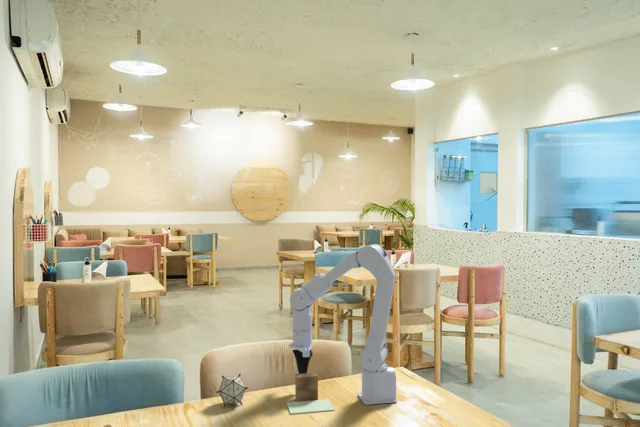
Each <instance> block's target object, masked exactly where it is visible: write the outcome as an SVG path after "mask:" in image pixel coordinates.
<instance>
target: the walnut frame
mask: <svg viewBox="0 0 640 427" xmlns="http://www.w3.org/2000/svg"><path fill="white" fill-rule="evenodd" d="M294 376H295V384H294V385H295V386H294V387H295V390H294V391H295V402H301V401H313V400H319V378H318V377H319V376H318V374H317V373H316V372H309V373H308V372H307V373H306V374H299V373H295V374H294Z"/></svg>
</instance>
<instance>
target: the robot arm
mask: <svg viewBox="0 0 640 427" xmlns="http://www.w3.org/2000/svg"><path fill="white" fill-rule="evenodd" d="M359 268H364V269H365V270H366V271H368V272H370V274H371V275H372V276H373V277H374V279H375V280H376V288H375V293H374V299H373V300H374V301H373V305H372V311H371V317H370V318H371V319H370V324H369V331H368V336H367V338H366V341H365V346H364V349H363V350H362V352H361V353H360V356H359V361H360V364H361V392H358V393H357V397H358V398H359V399H360V400H361V401H362V403H363V404H364V405H365V406H366V405H367V406H370V405H380V404H390V403H397V402H398V400H397V377H396V376H397V375H396V371H395V368H393V366H388V364H386V361H385V360H386V359H387V357H388V355H389V350H388V346H387V340H388V338H387V332H388V326H389V319H390V314H391V307H392V301H393V294H394V287H395V283H396V272H395V270H394V267H393V265H392V262H391V260H390V257H389V253H388V252H387V251H386V249H385V248H383V246H382V245H379V244H378V243H372V244H369V245H365V246H363V247H361V248H360V249H358V250H356V251H354V252H352V253H351V254H349V255H348V256H346V257H345V258H344V259H342V260H341V261H340V262H339V263H338V264H336V265H335V266H334V267H332V268H331V269H330V270H329V271H328V272H326V273H323V272H321V273H318V274H317V273H315V274H314V275H312V276H311V277H312V279H310V280H309V281H308V282H306V283H303V284H301V285H300V289H296V290H293V292H292V293H291V295H290V296H289V304H290V306H291V307H292V343H288V348H293V349H292V353H293V356H294V358H295V363H296V368H297V371H298V373H297V374H306V373H308V369H309V365H310V362H311V361H310V360H311V358H312V357H313V354H314V352H313V351H312V348H313V334H312V333H313V330H312V329H313V328H312V327H313V326H312V325H313V323H312V322H313V320H312V317H313V316H312V305H313V304H314V302H316V301H317V300H319V299H321V297H323V296H324V295H325V294H327V293H329V291H330V290H332V288H333V283H334V282H336V281H337V280H339V278H342V277H343V275H345V274H347V273H348V272H349V271H351V270H352V269H359Z"/></svg>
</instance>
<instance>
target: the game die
mask: <svg viewBox="0 0 640 427" xmlns="http://www.w3.org/2000/svg"><path fill="white" fill-rule="evenodd" d="M241 375H242V374H241V373H239V374H238V375H236V376H235V375H234V376H228V377H227V376H224V375H221V378H222V379H221V384H220V386H219V389H218V390H216V391H215V393H216V394H218V395H219V396H220V398H221V400H222V402H223V403H224V404H223V408H224V407H226V405H232V404H238V403H239V404H240V405H243V402H242V400H243V397H244V395H245V393H246V390H248V389H249V387H248V386H245V384H244V382H243V380H242V379H241Z"/></svg>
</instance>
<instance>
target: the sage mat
mask: <svg viewBox="0 0 640 427" xmlns="http://www.w3.org/2000/svg"><path fill="white" fill-rule="evenodd" d="M286 405H287V408H288V411H289V413H290V415H298V414H300V415H301V414H310V413H311V414H312V413H321V412H322V413H323V412H332V411H333V412H334V411H335V408H334V406H333V405H332V402H331V401H330V399H328V398H325V399H318V400H313V401H301V402H297V401H291V402H290V401H289V402H286Z"/></svg>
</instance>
